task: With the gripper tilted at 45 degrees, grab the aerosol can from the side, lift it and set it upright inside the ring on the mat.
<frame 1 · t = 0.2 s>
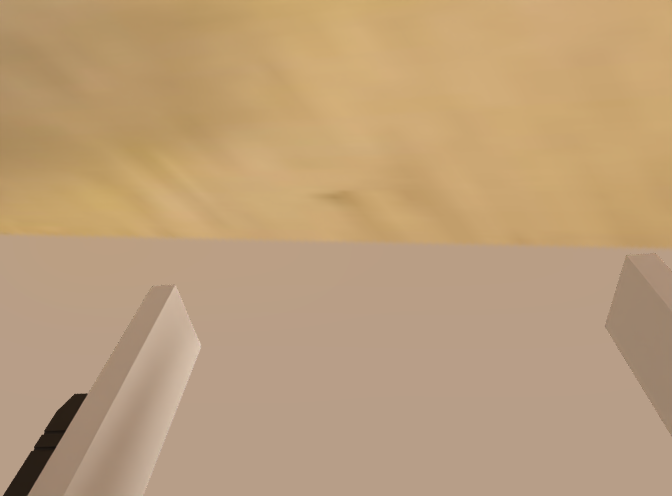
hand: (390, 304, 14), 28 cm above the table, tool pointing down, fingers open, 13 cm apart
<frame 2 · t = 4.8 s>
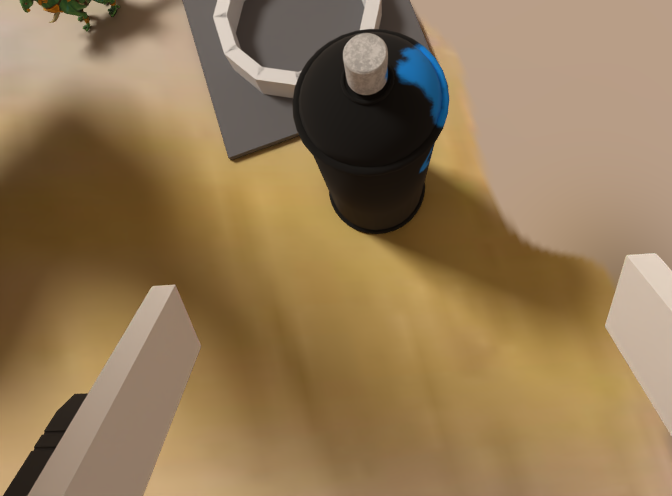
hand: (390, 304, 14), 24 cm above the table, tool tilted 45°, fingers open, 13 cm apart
can holder: (302, 29, 42), on the table
aerosol can: (376, 188, 39), on the table
figurine: (109, 8, 45), on the table
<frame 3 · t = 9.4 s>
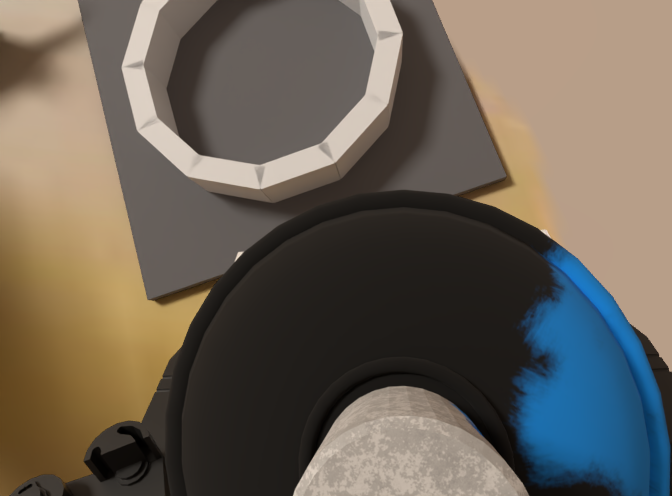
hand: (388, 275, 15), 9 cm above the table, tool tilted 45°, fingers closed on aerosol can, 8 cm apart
can holder: (272, 82, 26), on the table
aerosol can: (394, 359, 23), on the table, touching gripper
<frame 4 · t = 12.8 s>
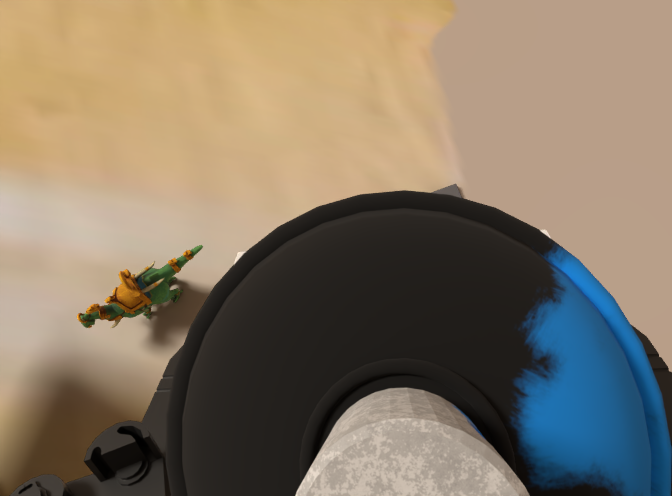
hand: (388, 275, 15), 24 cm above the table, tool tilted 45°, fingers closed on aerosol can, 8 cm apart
aerosol can: (394, 360, 23), point 16 cm above the table, touching gripper
figurine: (171, 290, 42), on the table
when the fingers open (11 cm above the table, at t = 16.5 s): aerosol can drops 1 cm, resting on can holder.
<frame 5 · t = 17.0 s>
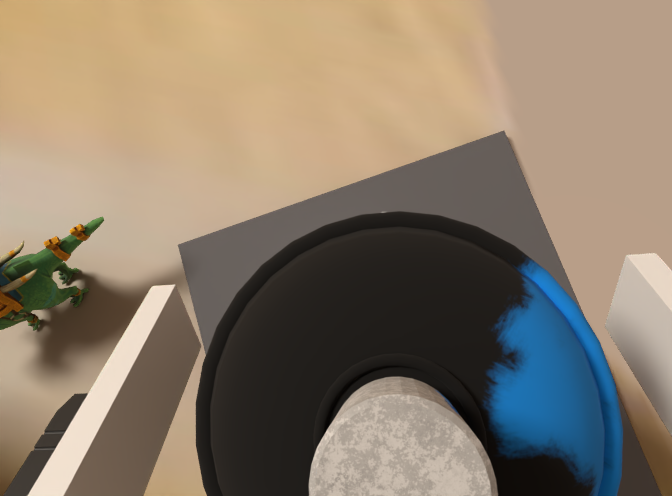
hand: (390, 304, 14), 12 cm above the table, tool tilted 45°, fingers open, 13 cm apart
can holder: (394, 357, 25), on the table
aerosol can: (393, 359, 24), resting on can holder
figurine: (72, 288, 28), on the table
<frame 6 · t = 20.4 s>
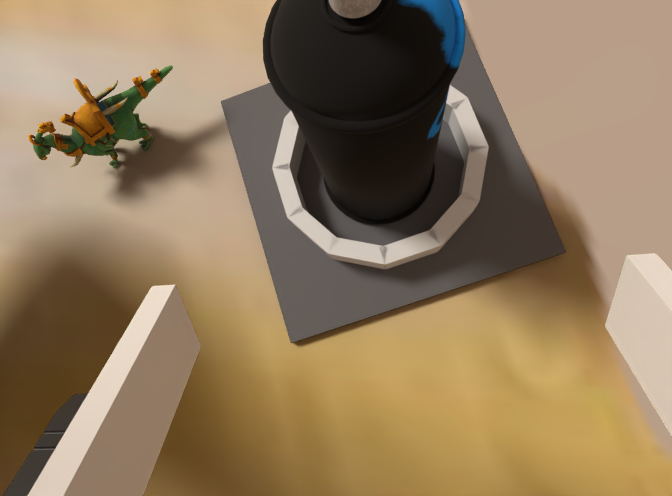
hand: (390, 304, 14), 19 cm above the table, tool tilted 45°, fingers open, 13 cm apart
can holder: (379, 173, 34), on the table
aerosol can: (378, 172, 34), resting on can holder
figurine: (141, 139, 38), on the table
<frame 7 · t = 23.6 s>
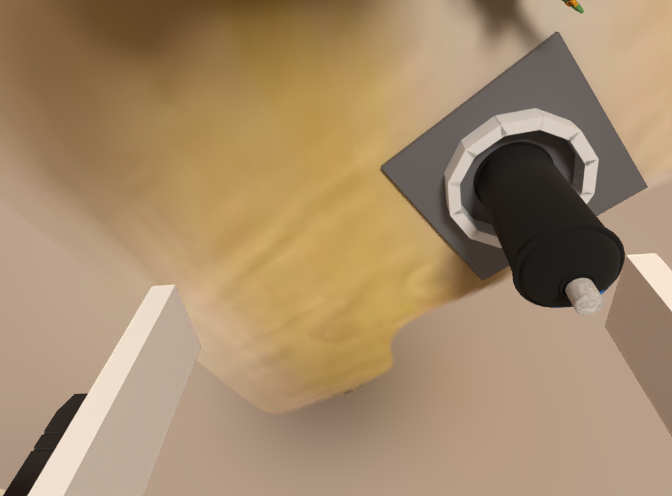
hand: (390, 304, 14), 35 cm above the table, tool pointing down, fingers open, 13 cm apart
can holder: (512, 175, 49), on the table
aerosol can: (512, 177, 48), resting on can holder
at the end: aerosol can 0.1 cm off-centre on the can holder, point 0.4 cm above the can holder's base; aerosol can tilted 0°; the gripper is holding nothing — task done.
